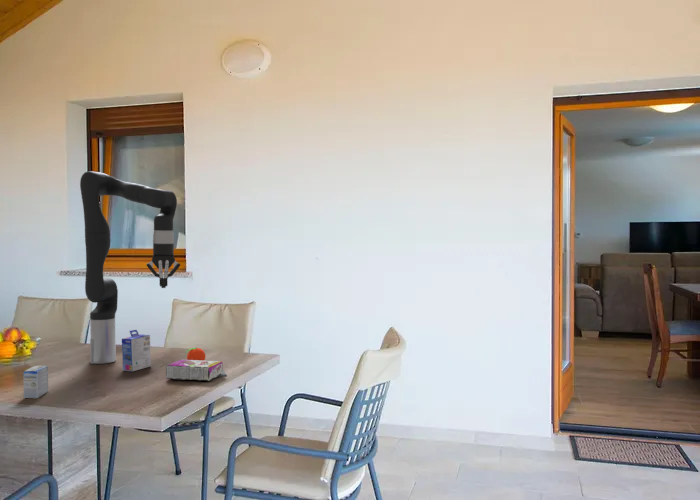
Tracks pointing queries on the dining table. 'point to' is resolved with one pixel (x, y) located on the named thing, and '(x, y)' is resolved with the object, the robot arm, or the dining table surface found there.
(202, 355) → the clementine
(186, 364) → the candy bar box
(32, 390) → the medicine box
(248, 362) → the dining table surface
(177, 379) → the mat
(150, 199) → the robot arm
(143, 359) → the ink cartridge box
